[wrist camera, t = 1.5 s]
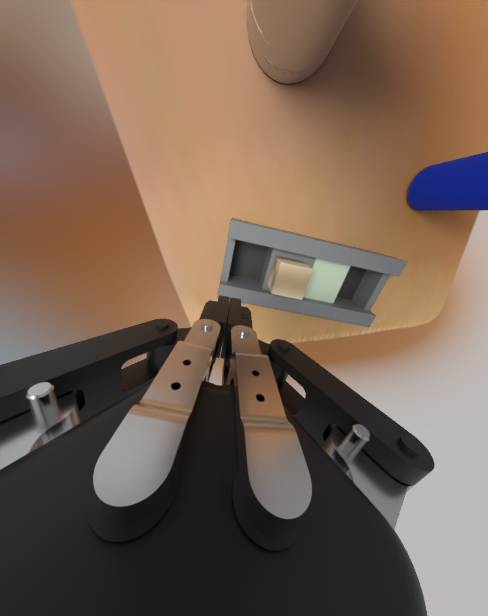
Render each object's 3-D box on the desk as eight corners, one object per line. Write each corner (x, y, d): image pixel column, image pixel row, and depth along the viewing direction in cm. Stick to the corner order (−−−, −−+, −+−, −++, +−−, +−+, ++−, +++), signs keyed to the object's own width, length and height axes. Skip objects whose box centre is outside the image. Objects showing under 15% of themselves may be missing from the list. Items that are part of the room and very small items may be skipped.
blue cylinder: (450, 191, 26) (666, 170, 13) (412, 218, 28) (571, 225, 14) (438, 155, 25) (673, 88, 11) (398, 186, 26) (564, 160, 13)
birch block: (275, 254, 26) (280, 261, 22) (303, 261, 26) (313, 269, 23) (267, 283, 28) (271, 293, 24) (294, 288, 28) (301, 300, 24)
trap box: (232, 218, 28) (230, 219, 23) (379, 253, 30) (407, 261, 25) (220, 284, 32) (217, 297, 27) (350, 310, 34) (369, 327, 29)
